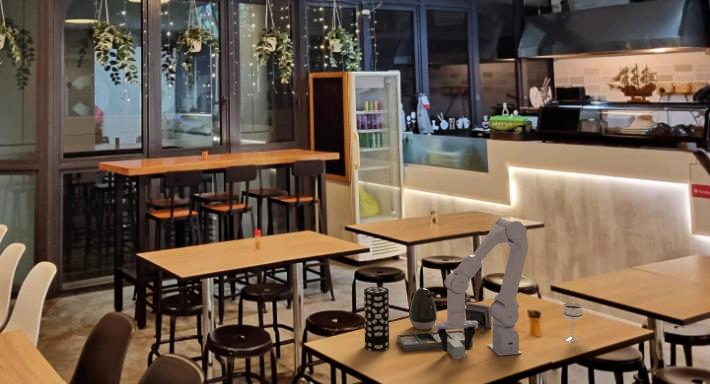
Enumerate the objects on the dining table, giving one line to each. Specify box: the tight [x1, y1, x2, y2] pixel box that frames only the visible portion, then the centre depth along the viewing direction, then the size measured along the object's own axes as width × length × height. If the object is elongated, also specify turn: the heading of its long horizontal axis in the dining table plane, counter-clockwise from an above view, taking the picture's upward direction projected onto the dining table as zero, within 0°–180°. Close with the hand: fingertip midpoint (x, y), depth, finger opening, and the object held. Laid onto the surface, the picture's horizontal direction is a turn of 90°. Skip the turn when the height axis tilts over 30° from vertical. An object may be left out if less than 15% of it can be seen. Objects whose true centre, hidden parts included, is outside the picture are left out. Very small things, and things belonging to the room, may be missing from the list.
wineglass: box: [562, 302, 584, 343], centre depth 215 cm, size 7×7×12 cm
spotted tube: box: [363, 286, 390, 352], centre depth 210 cm, size 8×8×20 cm
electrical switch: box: [465, 301, 493, 331], centre depth 229 cm, size 9×5×9 cm, turn 57°
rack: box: [396, 329, 474, 353], centre depth 213 cm, size 10×24×2 cm, turn 100°
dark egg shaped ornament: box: [408, 287, 438, 331], centre depth 229 cm, size 10×10×15 cm
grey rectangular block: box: [447, 339, 466, 360], centre depth 203 cm, size 7×4×4 cm, turn 10°
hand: (455, 350), depth 203 cm, fingers open, 7 cm apart
